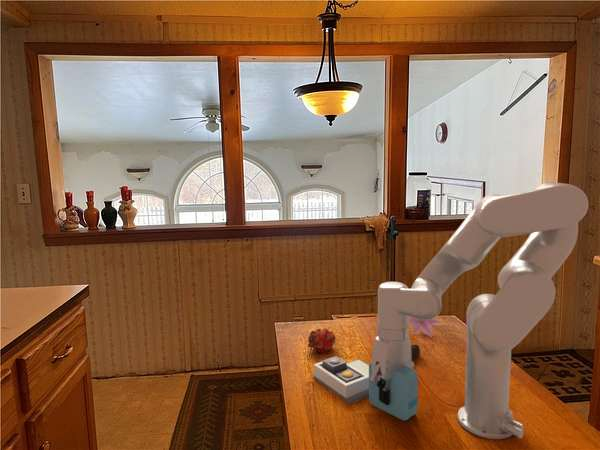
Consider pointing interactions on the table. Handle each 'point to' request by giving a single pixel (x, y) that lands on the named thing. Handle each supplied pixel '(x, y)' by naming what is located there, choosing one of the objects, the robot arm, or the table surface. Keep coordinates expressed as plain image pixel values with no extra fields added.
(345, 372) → the tagged breaker
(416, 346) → the hand tool
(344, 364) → the grey square block
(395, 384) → the data package
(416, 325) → the lily
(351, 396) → the board
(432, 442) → the table surface
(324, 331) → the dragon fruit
